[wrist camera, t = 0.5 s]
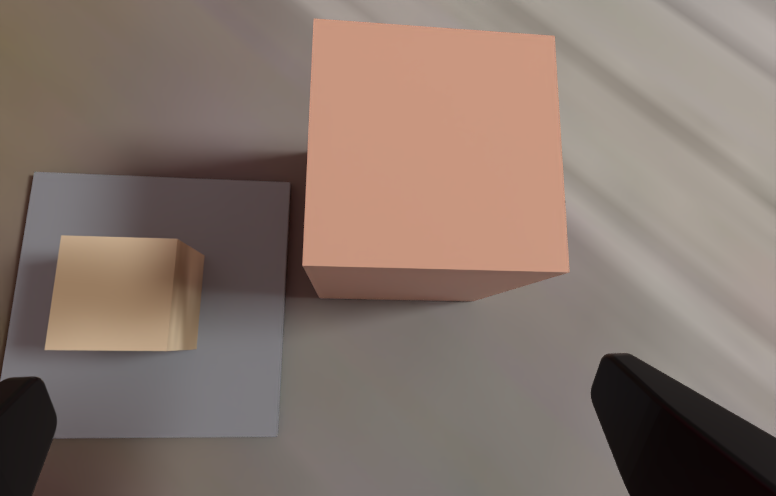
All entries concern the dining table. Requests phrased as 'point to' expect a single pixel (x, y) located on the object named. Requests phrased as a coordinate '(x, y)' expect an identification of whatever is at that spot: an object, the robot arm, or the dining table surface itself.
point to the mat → (216, 320)
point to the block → (125, 295)
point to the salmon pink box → (432, 163)
